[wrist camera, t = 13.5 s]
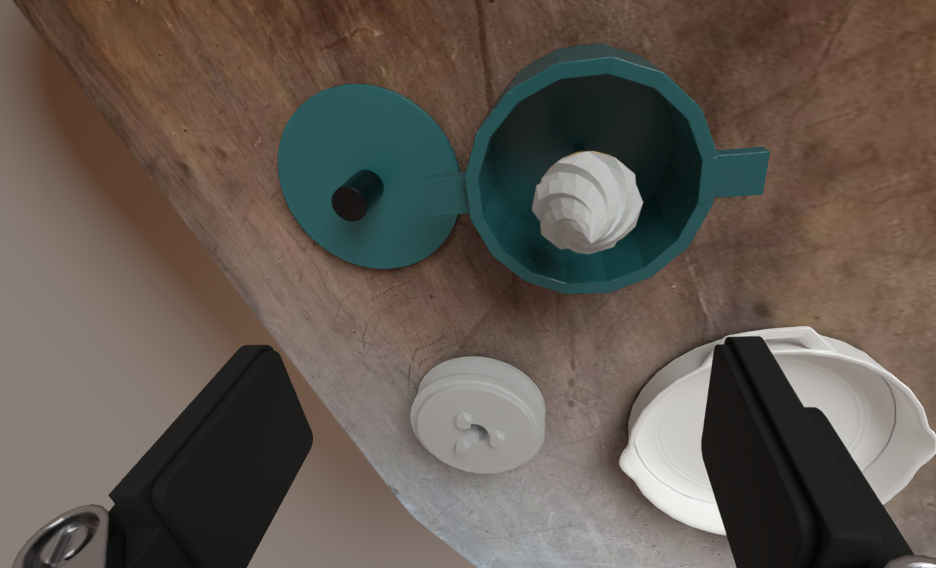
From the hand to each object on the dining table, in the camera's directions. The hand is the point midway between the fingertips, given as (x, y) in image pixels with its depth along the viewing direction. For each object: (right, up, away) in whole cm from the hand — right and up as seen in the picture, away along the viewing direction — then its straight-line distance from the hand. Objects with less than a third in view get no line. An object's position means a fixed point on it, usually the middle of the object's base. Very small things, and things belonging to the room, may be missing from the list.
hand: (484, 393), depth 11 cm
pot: (+8, +12, +24) cm, 28 cm away
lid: (+1, -9, +38) cm, 39 cm away
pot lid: (-8, +10, +27) cm, 30 cm away
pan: (+26, -11, +34) cm, 44 cm away
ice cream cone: (+7, +12, +24) cm, 28 cm away
